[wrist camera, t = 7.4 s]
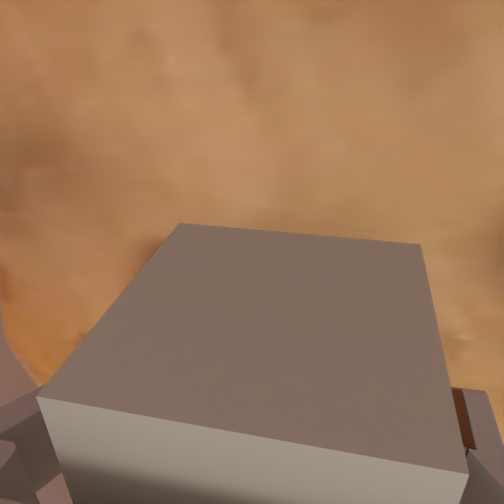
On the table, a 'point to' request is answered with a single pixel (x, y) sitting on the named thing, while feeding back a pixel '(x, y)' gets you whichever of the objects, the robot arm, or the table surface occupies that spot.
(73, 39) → the table surface
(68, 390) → the light gray cube
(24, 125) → the table surface
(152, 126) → the table surface
